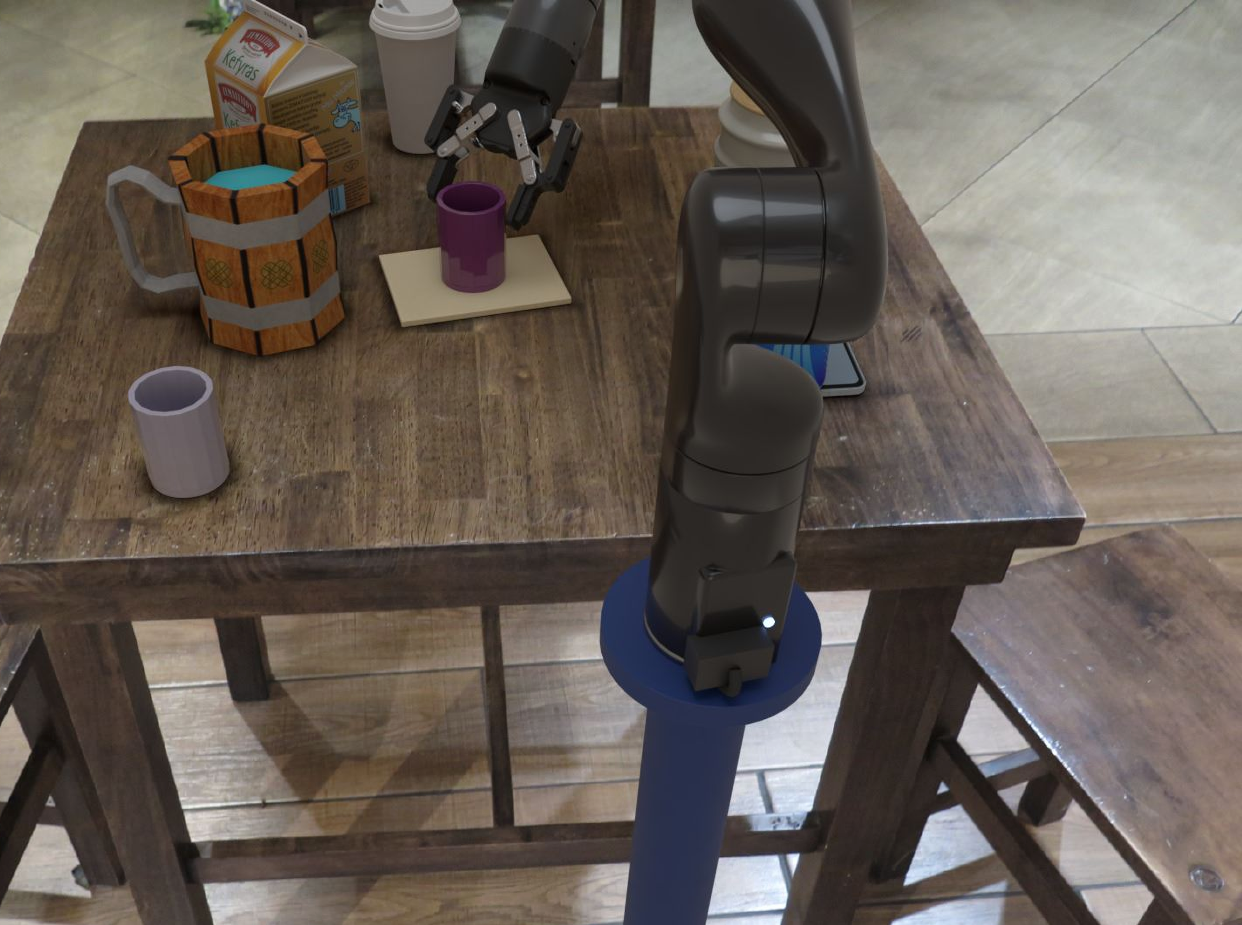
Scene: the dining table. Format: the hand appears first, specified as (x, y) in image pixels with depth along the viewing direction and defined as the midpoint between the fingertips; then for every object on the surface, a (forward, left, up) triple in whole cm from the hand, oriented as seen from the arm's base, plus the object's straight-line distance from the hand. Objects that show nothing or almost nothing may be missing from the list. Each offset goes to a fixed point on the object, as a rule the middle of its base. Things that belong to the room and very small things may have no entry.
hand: (472, 214), depth 116 cm
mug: (0, +22, -7) cm, 23 cm away
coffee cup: (+30, -1, -7) cm, 30 cm away
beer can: (-23, -21, -7) cm, 32 cm away
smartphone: (-18, -26, -7) cm, 32 cm away
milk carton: (+20, +14, -7) cm, 25 cm away
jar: (+2, -31, -7) cm, 32 cm away
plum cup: (0, 0, -6) cm, 6 cm away
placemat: (0, 0, -7) cm, 7 cm away
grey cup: (-22, +28, -7) cm, 37 cm away
